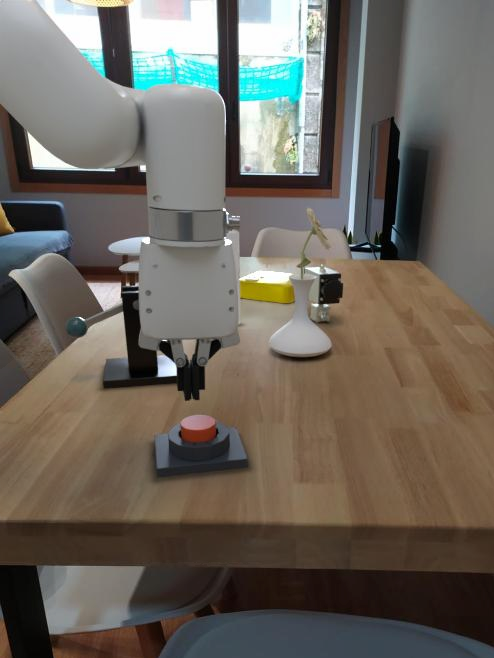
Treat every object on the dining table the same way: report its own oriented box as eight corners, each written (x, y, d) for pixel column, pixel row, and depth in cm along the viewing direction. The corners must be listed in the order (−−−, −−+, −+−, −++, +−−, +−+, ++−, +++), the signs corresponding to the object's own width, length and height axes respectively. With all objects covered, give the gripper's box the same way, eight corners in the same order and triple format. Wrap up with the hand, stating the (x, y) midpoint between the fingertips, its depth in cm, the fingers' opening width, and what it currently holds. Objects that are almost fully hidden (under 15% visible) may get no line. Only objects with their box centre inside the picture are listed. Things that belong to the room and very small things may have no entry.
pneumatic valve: (321, 328, 113) (323, 270, 108) (299, 314, 123) (301, 260, 118) (344, 326, 115) (348, 269, 110) (322, 312, 125) (324, 259, 120)
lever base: (103, 388, 82) (92, 298, 76) (106, 365, 90) (97, 283, 85) (184, 382, 84) (179, 294, 79) (179, 360, 93) (175, 280, 88)
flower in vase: (323, 366, 92) (330, 212, 83) (259, 358, 95) (260, 209, 86) (339, 343, 104) (347, 206, 94) (282, 337, 107) (284, 204, 97)
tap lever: (71, 344, 81) (59, 325, 80) (73, 337, 84) (62, 319, 83) (151, 308, 82) (141, 289, 81) (150, 303, 85) (141, 285, 84)
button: (182, 445, 61) (181, 431, 60) (180, 429, 64) (179, 416, 63) (218, 441, 62) (217, 428, 61) (213, 426, 65) (213, 413, 64)
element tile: (289, 304, 131) (290, 284, 129) (234, 297, 136) (233, 278, 134) (310, 291, 144) (311, 273, 142) (259, 286, 149) (259, 268, 147)
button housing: (157, 478, 59) (155, 454, 58) (155, 443, 66) (153, 421, 65) (247, 467, 61) (247, 444, 60) (236, 435, 69) (235, 413, 67)
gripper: (253, 224, 59) (250, 380, 66) (110, 221, 55) (122, 386, 62) (268, 233, 52) (263, 405, 59) (106, 230, 49) (120, 414, 56)
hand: (191, 395), depth 61 cm, fingers closed
